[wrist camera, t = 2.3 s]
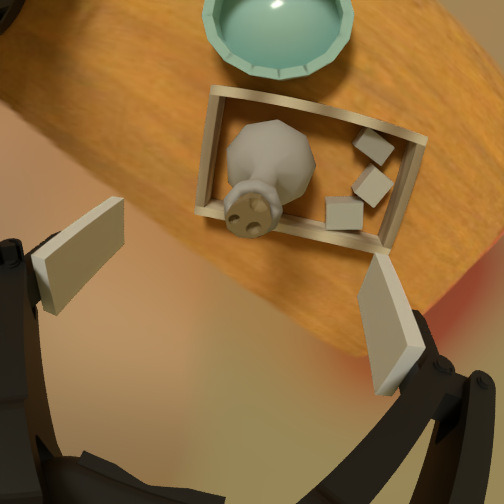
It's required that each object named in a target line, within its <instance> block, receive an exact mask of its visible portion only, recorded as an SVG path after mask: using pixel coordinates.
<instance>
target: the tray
mask: <svg viewBox="0 0 504 504" xmlns="http://www.w3.org/2000/svg"><path fill="white" fill-rule="evenodd" d="M226 97H233V98H239V99H246V100H252V101H258V102H263V103H269V104H274V105H279V106H284V107H289V108H294V109H299V110H303V111H308V112H312V113H316V114H320V115H325V116H329V117H333V118H336V119H340V120H344V121H348V122H351V123H355V124H358V125H362V126H365V127H369V128H372V129H375V130H379V131H382V132H385V133H388V134H391V135H394V136H397V137H400V138H403V139H406V140H408V141H407V144H406V148H405V152H404V155H403V159H402V162H401V166H400V169H399V172H398V176H397V179H396V182H395V185H394V188H393V192H392V195H391V198H390V201H389V204H388V207H387V210H386V213H385V216H384V219H383V222H382V225H381V227H380V230H379V233H378V236H377V235H373V234H369V233H365V232H361V231H357V230H353V229H349V230H326V225H325V223H324V222H319V221H315V220H311V219H306V218H302V217H297V216H293V215H288V214H284V213H282V215H281V217H280V220H279V222H278V225H277V227H276V229H274V230H272V231H277V232H282V233H286V234H291V235H295V236H300V237H304V238H309V239H313V240H317V241H322V242H326V243H331V244H335V245H339V246H344V247H348V248H352V249H357V250H361V251H365V252H369V253H375V252H376V253H380V254H384V255H389V253H390V250H391V248H392V245H393V243H394V240H395V237H396V235H397V232H398V229H399V227H400V224H401V221H402V218H403V216H404V213H405V210H406V207H407V204H408V201H409V198H410V195H411V192H412V189H413V186H414V183H415V180H416V177H417V174H418V170H419V167H420V164H421V160H422V157H423V154H424V150H425V147H426V143H427V139H428V137H426V136H424V135H422V134H419V133H417V132H414V131H411V130H408V129H405V128H402V127H399V126H397V125H394V124H390V123H387V122H384V121H381V120H378V119H375V118H371V117H368V116H365V115H361V114H358V113H354V112H351V111H347V110H343V109H340V108H336V107H332V106H328V105H324V104H320V103H316V102H311V101H307V100H302V99H298V98H293V97H288V96H283V95H278V94H273V93H267V92H262V91H256V90H250V89H243V88H236V87H229V86H222V85H211V88H210V95H209V101H208V108H207V115H206V121H205V128H204V136H203V143H202V151H201V159H200V167H199V175H198V183H197V192H196V202H195V211H194V214H196V215H201V216H206V217H211V218H216V219H221V220H225V218H224V217H225V216H224V201H222V200H217V199H212V198H211V194H212V186H213V178H214V171H215V164H216V157H217V150H218V143H219V136H220V130H221V123H222V117H223V111H224V105H225V98H226Z"/></svg>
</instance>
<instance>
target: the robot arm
mask: <svg viewBox="0 0 504 504" xmlns="http://www.w3.org/2000/svg"><path fill="white" fill-rule="evenodd" d="M24 1H25V0H0V35H1V34H2V33H3V32H4V31H5V30H6V29H7V28H8V27H9V26H10V25H11V23H12V22H13V20H14V19H15V18H16V16H17V14H18V13H19V11H20V9H21V7H22V5H23V3H24ZM123 245H124V198H120V197H114V196H111V197H110V198H108V199H107V200H105V201H104V202H102V203H101V204H99V205H98V206H96V207H95V208H94V209H92V210H91V211H89V212H88V213H86V214H85V215H83V216H82V217H81V218H79V219H78V220H76V221H75V222H74V223H72V224H71V225H70V226H68V227H67V228H65V229H64V230H63V231H59V232H57V233H55V234H52V235H51V236H49V237H48V238H47V239H46V240H45V241H43V242H42V243H40V244H39V245H38V246H36V247H35V248H34V249H32V250H31V251H30V252H28V253H27V254H26V255H25V256H24V253H23V247H22V242H21V241H20V240H19V239H14V238H12V239H6V240H3V241H1V242H0V504H224V502H225V498H226V497H223V496H218V495H214V494H209V493H205V492H201V491H197V490H193V489H189V488H173V487H161V486H151V485H147V484H145V483H143V482H141V481H140V480H138V479H137V478H135V477H134V476H132V475H131V474H129V473H128V472H126V471H125V470H123V469H122V468H120V467H119V466H117V465H116V464H114V463H111V462H109V461H107V460H104V459H102V458H100V457H97V456H95V455H93V454H90V453H88V452H86V451H83V453H82V455H81V457H73V456H62V453H61V451H60V449H59V447H58V444H57V441H56V437H55V433H54V429H53V424H52V420H51V415H50V410H49V405H48V399H47V393H46V387H45V381H44V374H43V366H42V358H41V350H40V338H39V325H38V310H37V307H36V304H37V303H38V302H39V301H40V300H41V301H42V305H43V309H44V311H46V312H49V313H51V314H54V315H56V316H57V315H58V314H59V313H60V312H61V310H62V309H63V308H64V307H65V306H66V305H67V304H68V302H70V300H71V299H72V298H73V297H74V296H75V295H76V294H77V293H78V292H79V290H80V289H81V288H82V287H83V286H84V285H85V284H86V283H87V282H88V281H89V280H90V279H91V278H92V277H93V275H95V273H96V272H97V271H98V270H99V269H100V268H101V267H102V266H103V265H104V264H105V263H106V262H107V261H108V260H109V259H110V258H111V257H112V256H113V255H114V254H115V253H116V252H117V251H118V250H119V249H120V248H121V247H122V246H123ZM357 298H358V303H359V307H360V312H361V317H362V322H363V327H364V332H365V338H366V343H367V349H368V354H369V360H370V366H371V372H372V379H373V384H374V392H375V395H383V396H392V395H393V394H394V393H395V391H396V390H397V388H398V387H399V389H400V394H401V395H400V396H399V398H398V399H397V400H396V401H395V403H394V404H393V405H392V406H391V408H390V409H389V410H388V411H387V413H386V414H385V415H384V416H383V417H382V418H381V420H380V421H379V422H378V423H377V424H376V426H375V427H374V428H373V429H372V430H371V431H370V432H369V433H368V435H367V436H366V437H365V438H364V439H363V440H362V441H361V442H360V443H359V444H358V445H357V446H356V448H355V449H354V450H353V451H352V452H351V453H350V454H349V455H348V456H347V457H346V458H345V459H344V460H343V461H342V462H341V463H340V464H339V465H338V466H337V467H336V468H335V469H334V470H333V471H332V472H331V473H330V474H329V475H328V476H327V477H326V478H324V479H323V480H322V481H321V482H320V483H319V484H318V485H317V486H316V487H315V488H314V489H312V490H311V491H310V492H309V493H308V494H307V495H306V496H304V497H303V498H302V499H301V500H300V501H299V502H298V503H296V504H369V503H370V502H371V501H372V500H373V499H374V498H375V496H376V495H377V494H378V493H379V492H380V490H381V489H382V488H383V487H384V485H385V484H386V483H387V482H388V480H389V479H390V478H391V476H392V475H393V474H394V472H395V471H396V470H397V468H398V467H399V466H400V464H401V463H402V462H403V460H404V459H405V457H406V456H407V455H408V453H409V451H410V450H411V449H412V447H413V446H414V444H415V443H416V441H417V440H418V438H419V436H420V435H421V434H422V432H423V430H424V429H425V427H426V426H427V424H428V422H429V421H430V419H434V420H435V424H434V428H433V432H432V435H431V439H430V443H429V446H428V450H427V453H426V457H425V460H424V463H423V466H422V469H421V472H420V475H419V478H418V481H417V484H416V487H415V490H414V492H413V495H412V498H411V500H410V503H409V504H484V500H485V495H486V489H487V484H488V478H489V471H490V465H491V457H492V448H493V438H494V422H495V395H496V388H495V383H494V381H493V379H492V378H491V377H490V376H489V375H488V374H487V373H485V372H483V371H480V370H476V371H474V372H472V374H471V375H470V376H469V377H468V378H467V377H465V376H462V375H460V374H457V373H455V368H454V366H453V364H452V363H451V362H450V361H449V360H448V359H447V358H446V357H444V356H442V355H439V353H438V350H437V347H436V345H435V342H434V340H433V337H432V335H431V332H430V330H429V328H428V325H427V322H426V320H425V318H424V317H423V316H422V315H421V313H420V312H419V311H418V310H413V309H411V307H410V305H409V302H408V300H407V298H406V295H405V293H404V290H403V288H402V286H401V283H400V281H399V279H398V276H397V274H396V272H395V269H394V267H393V265H392V263H391V260H390V258H389V256H388V255H384V254H380V253H376V252H375V253H374V256H373V258H372V261H371V263H370V266H369V269H368V271H367V274H366V276H365V279H364V281H363V284H362V286H361V288H360V291H359V293H358V296H357Z"/></svg>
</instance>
